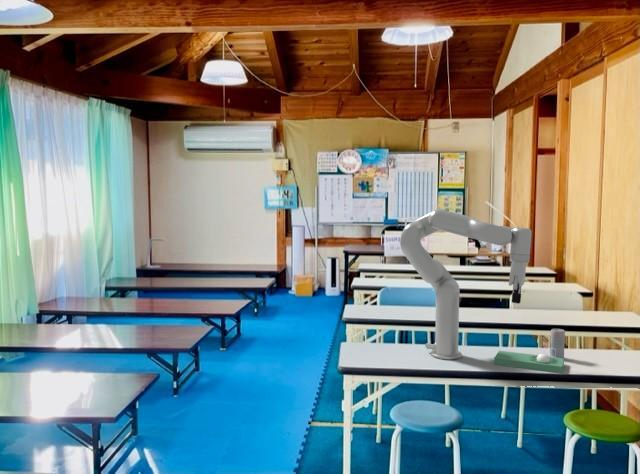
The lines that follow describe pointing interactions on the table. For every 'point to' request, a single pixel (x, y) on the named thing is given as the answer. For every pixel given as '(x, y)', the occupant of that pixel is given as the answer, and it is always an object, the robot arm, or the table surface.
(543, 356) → the ball
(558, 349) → the energy drink
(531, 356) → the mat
